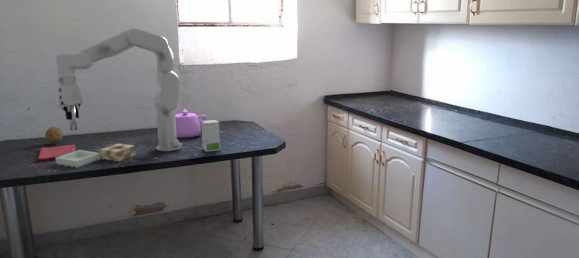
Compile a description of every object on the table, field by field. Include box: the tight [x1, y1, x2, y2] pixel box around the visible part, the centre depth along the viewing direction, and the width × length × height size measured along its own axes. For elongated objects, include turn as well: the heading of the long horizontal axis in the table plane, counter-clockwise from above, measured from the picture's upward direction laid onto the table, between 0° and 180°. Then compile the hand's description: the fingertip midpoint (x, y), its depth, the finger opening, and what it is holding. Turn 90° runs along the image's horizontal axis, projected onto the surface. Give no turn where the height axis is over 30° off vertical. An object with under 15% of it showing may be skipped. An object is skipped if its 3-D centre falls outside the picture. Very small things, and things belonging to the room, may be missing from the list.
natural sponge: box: [44, 126, 64, 145], centre depth 245 cm, size 9×9×10 cm
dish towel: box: [36, 144, 76, 162], centre depth 228 cm, size 17×24×3 cm
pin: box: [68, 104, 79, 131], centre depth 209 cm, size 4×4×13 cm
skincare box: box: [200, 119, 221, 153], centre depth 232 cm, size 8×7×16 cm
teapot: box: [175, 108, 208, 139], centre depth 264 cm, size 23×21×15 cm
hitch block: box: [99, 143, 137, 162], centre depth 221 cm, size 12×12×5 cm
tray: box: [55, 149, 101, 169], centre depth 214 cm, size 14×14×4 cm
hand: (72, 118), depth 209 cm, fingers closed on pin, 3 cm apart
